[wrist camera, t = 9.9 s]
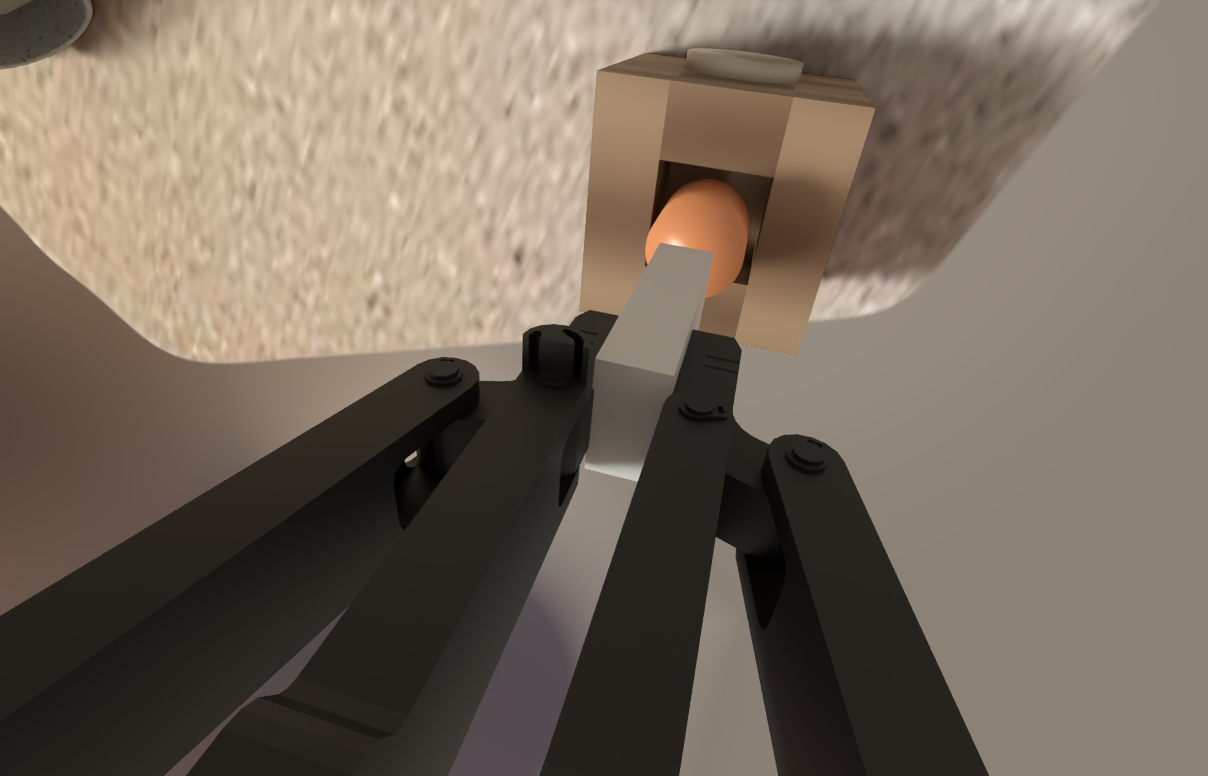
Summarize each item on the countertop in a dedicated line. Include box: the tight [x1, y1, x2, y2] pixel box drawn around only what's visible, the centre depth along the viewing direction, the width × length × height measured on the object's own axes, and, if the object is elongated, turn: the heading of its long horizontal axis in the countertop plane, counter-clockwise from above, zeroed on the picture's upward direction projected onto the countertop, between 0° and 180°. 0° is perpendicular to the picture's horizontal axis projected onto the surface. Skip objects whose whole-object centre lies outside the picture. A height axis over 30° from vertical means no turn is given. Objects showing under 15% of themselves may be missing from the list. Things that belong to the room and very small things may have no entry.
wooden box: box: [579, 48, 876, 356], centre depth 25 cm, size 10×9×8 cm
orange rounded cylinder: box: [645, 178, 750, 298], centre depth 21 cm, size 3×3×3 cm
